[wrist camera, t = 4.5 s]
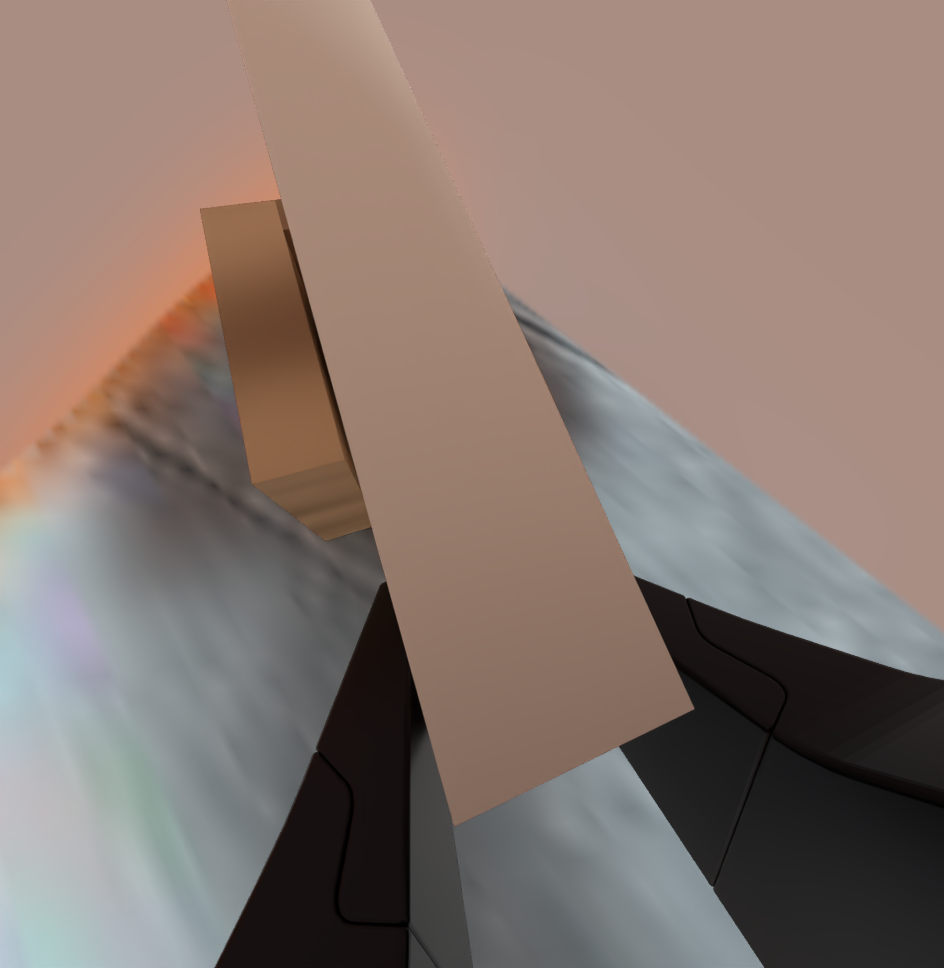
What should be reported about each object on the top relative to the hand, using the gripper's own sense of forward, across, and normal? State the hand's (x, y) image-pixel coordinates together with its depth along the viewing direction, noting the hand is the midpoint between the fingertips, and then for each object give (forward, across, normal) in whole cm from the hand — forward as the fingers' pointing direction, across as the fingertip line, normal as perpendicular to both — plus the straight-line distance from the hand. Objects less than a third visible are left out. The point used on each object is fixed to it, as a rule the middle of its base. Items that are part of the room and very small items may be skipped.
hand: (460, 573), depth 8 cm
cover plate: (+7, 0, +2) cm, 8 cm away
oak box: (+10, 0, -1) cm, 10 cm away
